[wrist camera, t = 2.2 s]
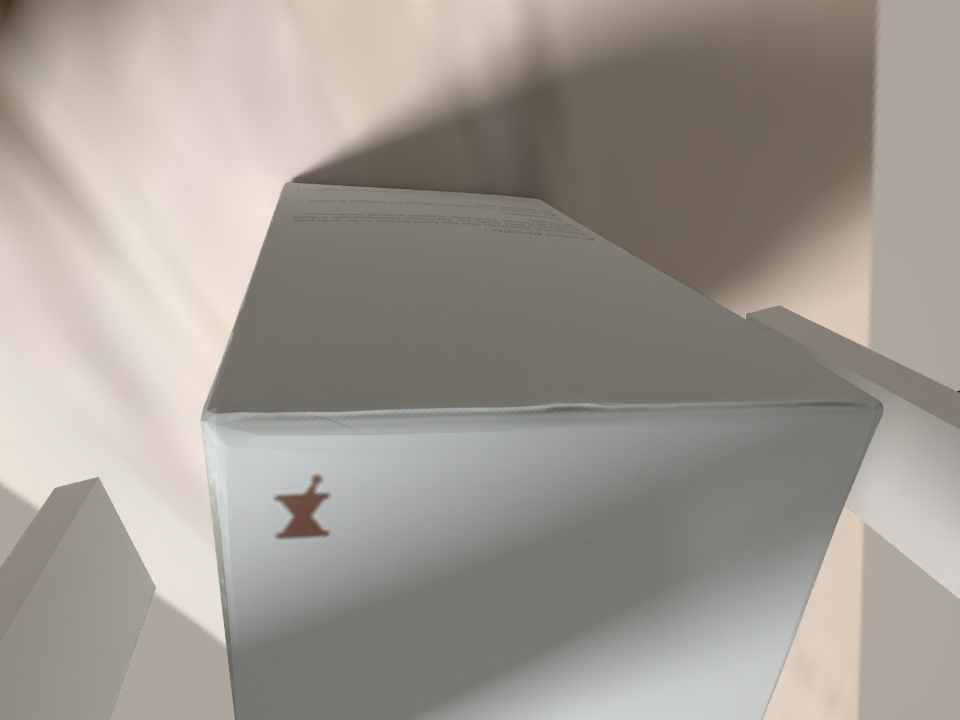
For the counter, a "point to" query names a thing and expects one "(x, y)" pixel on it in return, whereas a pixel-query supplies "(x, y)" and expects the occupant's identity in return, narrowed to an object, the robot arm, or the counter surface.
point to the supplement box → (508, 472)
